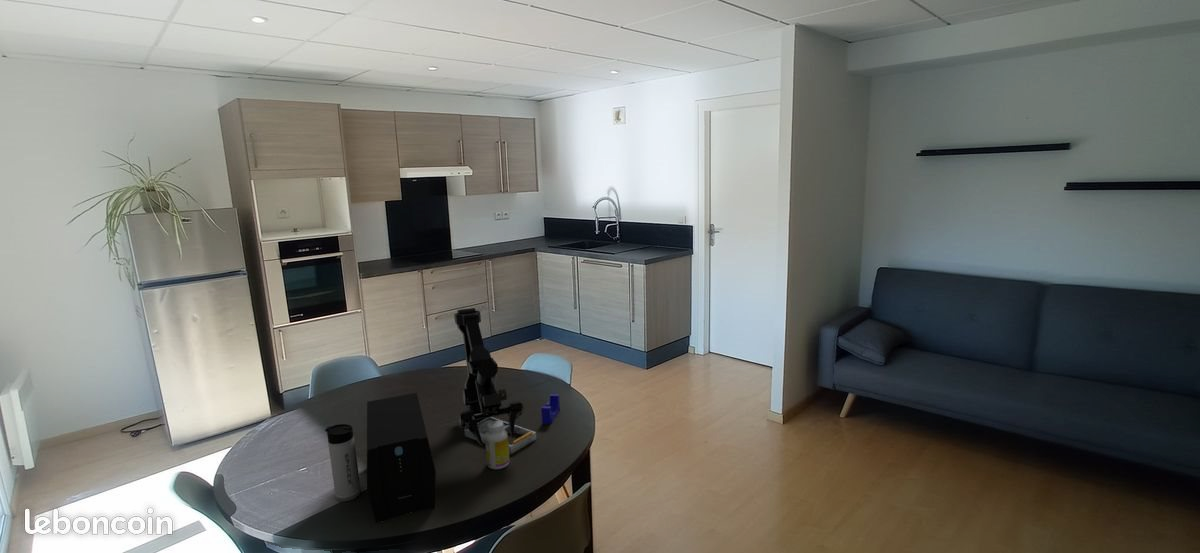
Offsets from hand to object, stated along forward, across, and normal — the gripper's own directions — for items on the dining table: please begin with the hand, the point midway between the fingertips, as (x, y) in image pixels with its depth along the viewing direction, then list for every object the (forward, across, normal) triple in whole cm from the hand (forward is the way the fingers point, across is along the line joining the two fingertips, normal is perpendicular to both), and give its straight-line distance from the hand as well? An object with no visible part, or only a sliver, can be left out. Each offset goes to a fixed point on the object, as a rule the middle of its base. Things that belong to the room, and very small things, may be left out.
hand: (497, 441), depth 159 cm
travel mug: (+4, -41, +8) cm, 42 cm away
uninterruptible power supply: (+4, -27, +8) cm, 28 cm away
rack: (-7, +4, +18) cm, 19 cm away
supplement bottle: (+5, 0, +6) cm, 8 cm away
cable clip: (-12, +23, +24) cm, 35 cm away
